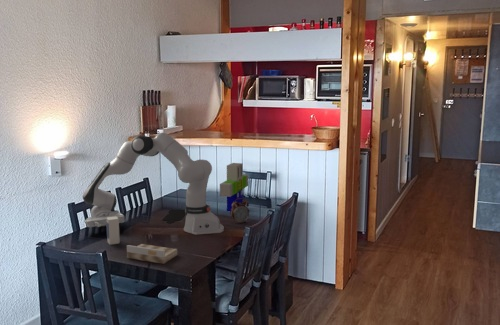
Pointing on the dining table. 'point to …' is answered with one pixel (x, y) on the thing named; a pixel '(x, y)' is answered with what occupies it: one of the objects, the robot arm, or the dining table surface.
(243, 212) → the alarm clock
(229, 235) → the dining table surface
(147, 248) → the beige flat block
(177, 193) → the dining table surface
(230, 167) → the toy
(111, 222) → the carton
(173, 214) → the toy
